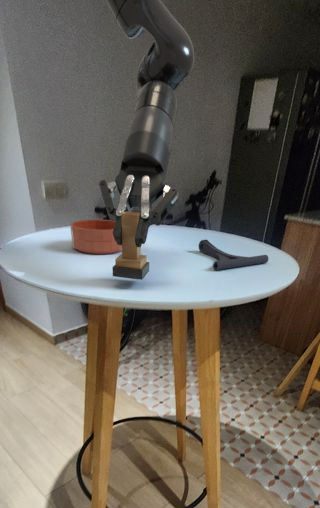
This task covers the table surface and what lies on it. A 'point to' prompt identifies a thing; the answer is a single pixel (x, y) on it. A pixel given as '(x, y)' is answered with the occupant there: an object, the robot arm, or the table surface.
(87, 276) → the table surface
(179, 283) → the table surface
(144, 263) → the wooden block on stand
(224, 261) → the dark branching pipe
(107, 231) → the bowl
